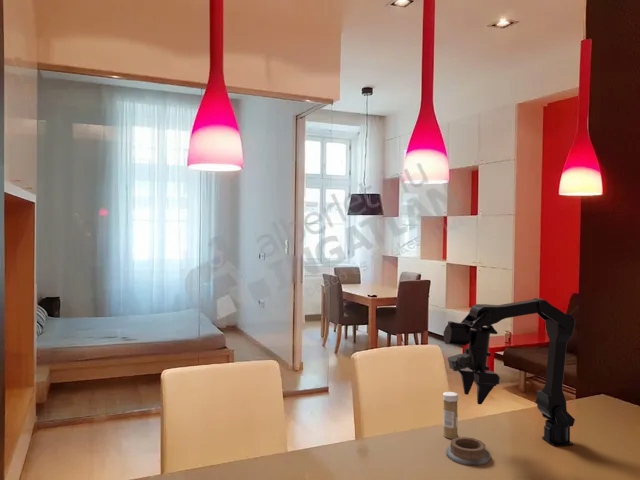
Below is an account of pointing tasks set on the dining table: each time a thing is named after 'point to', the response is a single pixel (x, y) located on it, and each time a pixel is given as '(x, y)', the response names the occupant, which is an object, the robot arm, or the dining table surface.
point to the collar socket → (468, 451)
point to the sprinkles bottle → (450, 415)
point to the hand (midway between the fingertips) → (472, 399)
